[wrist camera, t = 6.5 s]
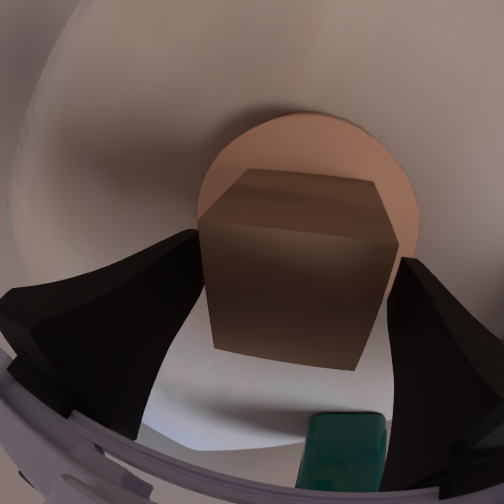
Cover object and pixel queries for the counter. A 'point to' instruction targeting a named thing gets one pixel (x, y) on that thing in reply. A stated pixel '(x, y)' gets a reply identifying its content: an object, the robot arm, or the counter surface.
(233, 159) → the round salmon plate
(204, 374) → the counter surface
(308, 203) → the walnut cube
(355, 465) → the green plastic tall container
